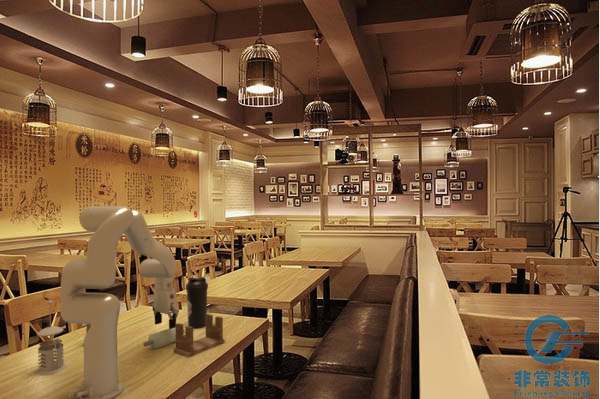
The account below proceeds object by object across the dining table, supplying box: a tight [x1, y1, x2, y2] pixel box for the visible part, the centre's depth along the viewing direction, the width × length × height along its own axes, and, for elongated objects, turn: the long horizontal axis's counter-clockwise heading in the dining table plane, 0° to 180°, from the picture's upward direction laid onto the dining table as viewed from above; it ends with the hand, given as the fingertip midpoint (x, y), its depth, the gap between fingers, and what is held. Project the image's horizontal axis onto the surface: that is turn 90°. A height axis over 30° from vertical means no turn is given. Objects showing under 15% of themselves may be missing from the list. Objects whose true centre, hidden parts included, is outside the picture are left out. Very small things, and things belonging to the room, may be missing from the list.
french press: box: [34, 299, 68, 376], centre depth 148 cm, size 10×12×25 cm
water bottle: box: [185, 276, 209, 330], centre depth 197 cm, size 10×10×23 cm
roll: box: [142, 327, 185, 350], centre depth 173 cm, size 19×6×6 cm, turn 144°
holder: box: [173, 313, 226, 358], centre depth 169 cm, size 19×9×11 cm, turn 144°
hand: (165, 325), depth 173 cm, fingers open, 9 cm apart
